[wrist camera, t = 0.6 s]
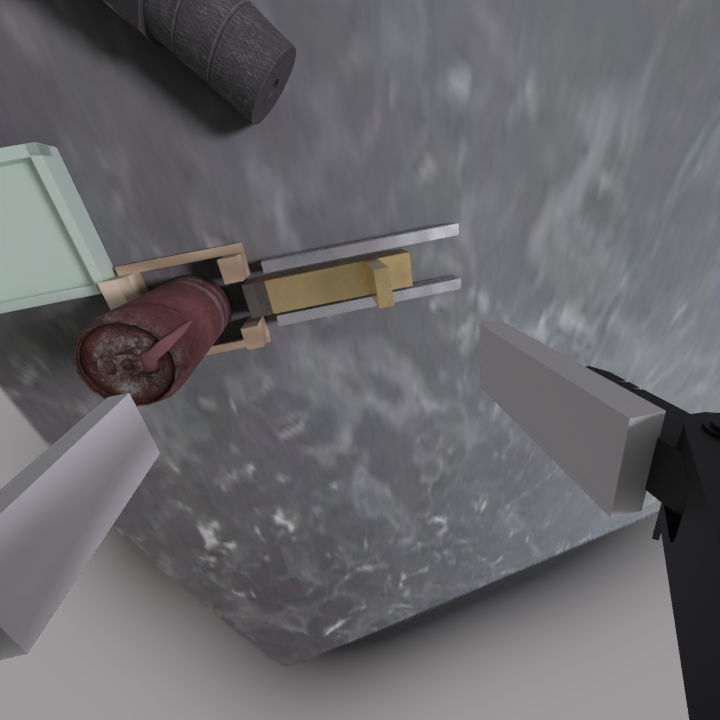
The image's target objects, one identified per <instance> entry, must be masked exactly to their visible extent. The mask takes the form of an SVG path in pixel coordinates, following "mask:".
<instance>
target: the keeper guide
mask: <svg viewBox="0 0 720 720" xmlns="http://www.w3.org/2000/svg"><path fill="white" fill-rule="evenodd" d="M456 235H459V228H458V223H446V224H441V225H436V226H431V227H426V228H420V229H415V230H410V231H405V232H400V233H395V234H390V235H385V236H380V237H375V238H369V239H364V240H359V241H354V242H349V243H344V244H339V245H334V246H329V247H324V248H318V249H313V250H308V251H303V252H298V253H293V254H288V255H283V256H278V257H273V258H267V259H263V260H262V261H261V265H262V268H263V272H264V273H269V272H274V271H279V270H284V269H289V268H294V267H299V266H304V265H309V264H315V263H320V262H325V261H330V260H335V259H340V258H345V257H350V256H355V255H360V254H365V253H370V252H375V251H380V250H385V249H390V248H395V247H400V246H405V245H410V244H415V243H421V242H426V241H431V240H436V239H441V238H446V237H451V236H456ZM457 289H461V278H459V277H456V276H454V275H450V276H445V277H440V278H435V279H430V280H425V281H420V282H416V283H413V286H408V287H403V288H399V289H394V290H392V292H393V299H394V302H398V301H403V300H408V299H413V298H418V297H423V296H428V295H432V294H437V293H442V292H447V291H452V290H457ZM374 306H377V304H376V303H375V302H374V300H373V299H372V297H371V296H370V294H369V295H364V296H359V297H354V298H350V299H345V300H340V301H335V302H330V303H325V304H320V305H315V306H310V307H305V308H301V309H296V310H291V311H286V312H281V313H277V316H276V317H277V320H278V324H279V326H282V325H287V324H292V323H297V322H301V321H306V320H311V319H316V318H321V317H326V316H330V315H335V314H340V313H345V312H350V311H355V310H360V309H364V308H369V307H374Z"/></svg>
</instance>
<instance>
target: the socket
mask: <svg viewBox="0 0 720 720" xmlns="http://www.w3.org/2000/svg"><path fill="white" fill-rule="evenodd" d="M221 256H224V257H222V258H220V259H218V260H217V262H218V265H219V268H220V271H221V274H222V277H223V280H224V283H225V284H230V283H235V282H240V281H244V280H245V279H246V278H247V277H248V276H249V275H250V274H251V271H250V268H249V265H248V262H247V258H246V255H245V252H244V249H243V245H242V242H240V243H235V244H230V245H225V246H220V247H214V248H209V249H204V250H199V251H194V252H188V253H183V254H178V255H173V256H168V257H163V258H157V259H152V260H147V261H142V262H137V263H131V264H126V265H121V266H117V267H114V268H115V270H116V272H117V274H118V277H115V278H112V279H109V280H106V281H103V282H100V283H97V284H98V286H99V288H100V290H101V292H102V294H103V296H104V298H105V300H106V302H107V304H108V306H109V308H110V310H112V309H115V308H117V307H119V306H121V305H123V304H125V303H127V302H129V301H131V300H133V299H135V298H137V297H139V296H141V295H143V294H146V293H148V292H149V291H148V289H147V286H146V284H145V282H144V280H143V277H142V275H141V273H140V272H144V271H149V270H154V269H159V268H164V267H169V266H175V265H180V264H185V263H190V262H195V261H200V260H205V259H211V258H216V257H221ZM240 330H241V332H242V335H243V338H239V339H234V340H229V341H224V342H219V343H214V344H213V346H212V347H211V348H210V350H209V351H208V352H207V354H206V355H211V354H216V353H221V352H226V351H230V350H235V349H240V348H245V347H247V350H249V349H254V348H259V347H264V345H265V343H269V342H271V337H270V334H269V330H268V327H267V324H266V321H265V317H264V316H261V317H256V318H252V317H251V316H249V317H248V318H247V320H246V321H245V323H244V324H243V326H242V328H241V329H240ZM206 355H205V356H206Z"/></svg>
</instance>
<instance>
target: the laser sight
mask: <svg viewBox="0 0 720 720" xmlns="http://www.w3.org/2000/svg"><path fill="white" fill-rule="evenodd" d="M102 1H103V2H104V3H106V4H107V5H108V6H109V7H110V8H111V9H112V10H114V11H115V12H116V13H117V14H118V15H119V16H121V17H122V18H123V19H124V20H125V21H126V22H128V23H129V24H130V25H131V26H132V27H133V28H134V29H136V30H137V31H138V32H139V33H140V34H141V35H143V36H144V37H145V38H146V39H147V40H148V41H149V42H151V43H152V44H153V45H154V46H155V47H156V48H157V47H159V46H160V45H162V44H163V45H164V46H165V47H166V48H167V49H169V50H170V51H171V52H172V53H173V54H174V55H175V56H176V57H177V58H178V59H180V60H181V61H182V62H183V63H184V64H185V65H186V66H188V67H189V68H190V69H191V70H192V71H194V72H195V73H196V74H197V75H198V76H199V77H200V78H202V79H203V80H204V81H205V82H206V83H207V84H208V85H209V86H210V87H211V88H213V89H214V90H215V91H216V92H217V93H218V94H220V95H221V96H222V97H223V98H224V99H226V100H227V101H228V102H229V103H230V104H231V105H232V106H234V107H235V108H236V109H237V110H238V111H239V112H241V113H242V114H243V115H244V116H245V117H246V118H247V119H249V120H250V121H251V122H252V123H253V124H254V125H256V124H258V123H260V122H261V121H262V120H263V119H264V118H265V117H266V116H267V114H268V113H269V112H270V111H271V109H272V108H273V106H274V105H275V103H276V101H277V100H278V98H279V96H280V95H281V93H282V91H283V89H284V87H285V85H286V83H287V81H288V78H289V76H290V74H291V71H292V68H293V65H294V62H295V57H296V48H295V47H294V46H293V45H292V44H291V43H290V42H289V41H288V40H287V39H286V38H285V37H284V36H283V35H282V34H281V33H280V32H279V31H278V30H277V29H276V28H275V27H274V26H273V25H272V24H271V23H270V22H269V21H268V20H267V19H266V18H265V17H264V16H263V15H262V14H261V13H260V11H259V10H258V9H257V8H256V7H255V6H254V5H252V3H251V2H250V1H249V0H102Z"/></svg>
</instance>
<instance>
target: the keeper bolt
mask: <svg viewBox="0 0 720 720" xmlns="http://www.w3.org/2000/svg"><path fill="white" fill-rule="evenodd" d="M241 286H242V290H243V293H244V296H245V299H246V302H247V305H248V308H249V311H250V314H251V317H252V318H256V317H261V316H266V315H271V314H276V313H281V312H286V311H291V310H296V309H301V308H305V307H310V306H315V305H320V304H325V303H330V302H335V301H340V300H345V299H350V298H354V297H359V296H364V295H369V294H370V296H371V297H372V299H373V300H374V302H375V303H376V304H377V306H378V307H379V309H380V308H384V307H389V306H394V299H393V292H392V290H394V289H399V288H403V287H408V286H413V283H412V273H411V264H410V255H409V252H407V251H405V250H402V249H398V250H393V251H388V252H383V253H378V254H373V255H368V256H363V257H358V258H353V259H348V260H343V261H338V262H333V263H328V264H323V265H318V266H313V267H308V268H303V269H298V270H293V271H288V272H282V273H277V274H272V275H267V276H262V277H257V278H252V279H247V280H246V281H245V282H244V283H243V284H242V285H241Z"/></svg>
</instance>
